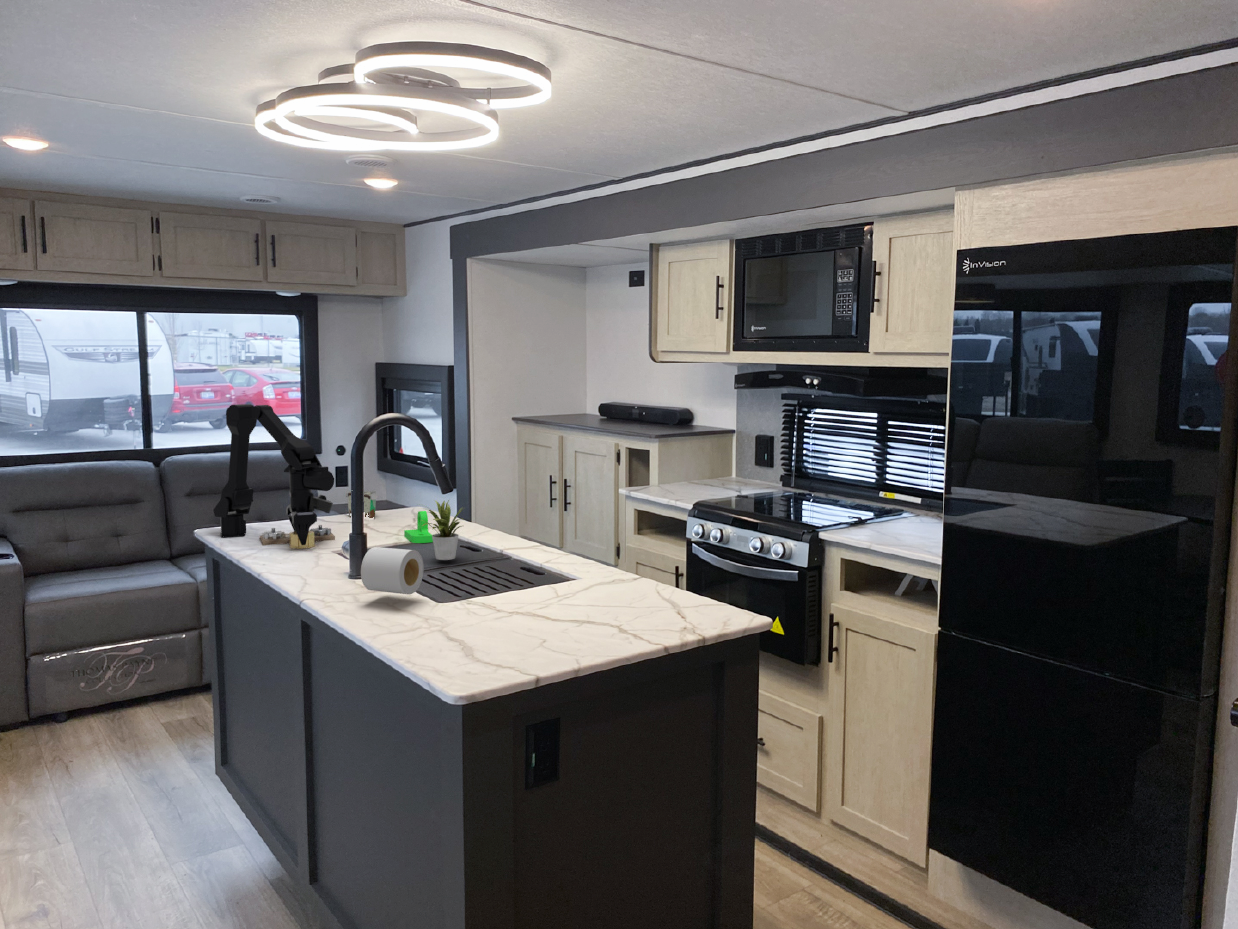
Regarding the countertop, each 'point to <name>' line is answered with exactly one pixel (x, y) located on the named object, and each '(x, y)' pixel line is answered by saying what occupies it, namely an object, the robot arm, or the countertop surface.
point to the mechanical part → (419, 530)
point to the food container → (365, 502)
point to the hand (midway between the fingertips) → (302, 542)
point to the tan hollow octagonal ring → (297, 544)
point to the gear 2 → (321, 531)
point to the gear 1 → (273, 534)
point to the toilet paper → (392, 570)
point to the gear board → (287, 539)
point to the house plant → (444, 533)
